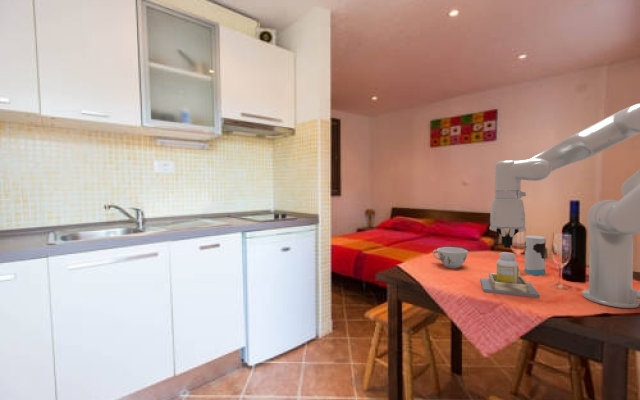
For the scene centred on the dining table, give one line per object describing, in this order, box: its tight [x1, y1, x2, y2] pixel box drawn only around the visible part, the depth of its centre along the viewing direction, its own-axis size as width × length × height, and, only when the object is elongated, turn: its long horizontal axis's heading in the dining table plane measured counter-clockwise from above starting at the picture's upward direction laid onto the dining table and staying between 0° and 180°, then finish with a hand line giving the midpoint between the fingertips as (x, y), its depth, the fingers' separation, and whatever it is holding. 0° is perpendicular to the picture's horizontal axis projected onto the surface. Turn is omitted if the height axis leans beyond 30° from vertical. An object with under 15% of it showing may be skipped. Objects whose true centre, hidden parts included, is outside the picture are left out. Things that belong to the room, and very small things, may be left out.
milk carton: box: [524, 235, 546, 276], centre depth 117 cm, size 7×7×15 cm
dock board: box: [479, 277, 541, 299], centre depth 102 cm, size 16×12×1 cm
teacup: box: [432, 246, 468, 269], centre depth 130 cm, size 15×12×8 cm
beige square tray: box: [488, 272, 529, 293], centre depth 102 cm, size 11×11×2 cm
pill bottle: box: [496, 251, 520, 284], centre depth 102 cm, size 6×6×12 cm
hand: (506, 247), depth 101 cm, fingers closed
